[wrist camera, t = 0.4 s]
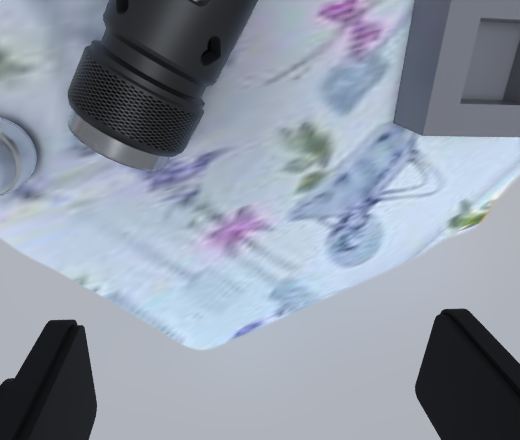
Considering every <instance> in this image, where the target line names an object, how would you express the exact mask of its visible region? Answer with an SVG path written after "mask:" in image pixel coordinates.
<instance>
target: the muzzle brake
mask: <svg viewBox="0 0 520 440" xmlns="http://www.w3.org/2000/svg"><path fill="white" fill-rule="evenodd" d="M257 1H258V0H109V3H108V5H107V7H106V10H105V12H104V15H103V20H104V23H105V25H106V28H107V29H106V31H105V34H104V36H103V38H102V41H92V43H91V45H90V46H87V47H86V48H85V49H84V52H83V54H82V57H81V59H80V62H79V64H78V67H77V69H76V72H75V74H74V77H73V79H72V82H71V84H70V87H69V89H68V99H69V104H70V106H71V108H72V109H73V110H72V113H71V115H70V118H69V120H68V126H69V129H70V131H71V132H72V133H73V134H74V136H76V137H77V138H78V139H79V140H80V141H81V142H82V143H84V144H85V145H86V146H88V147H89V148H91V149H92V150H94V151H96V152H97V153H99V154H101V155H103V156H105V157H106V158H108V159H111V160H113V161H115V162H117V163H120V164H123V165H126V166H129V167H132V168H135V169H140V170H145V171H159V170H162V169H163V168H164V167H165V166H166V164H167V162H168V160H169V158H170V157H173V156H176V155H178V154H180V153H181V152H183V151H184V149H185V148H186V146H187V144H188V142H189V140H190V138H191V136H192V134H193V132H194V131H195V129H196V127H197V125H198V123H199V121H200V119H201V117H202V115H203V113H204V111H203V109H202V108H203V106H204V102H203V100H202V99H201V96H202V94H203V92H204V90H205V88H206V86H210V85H213V84H214V83H215V82H216V81H217V79H218V77H219V75H220V73H221V70H222V68H223V66H224V64H225V62H226V61H227V59H228V57H229V55H230V53H231V51H232V49H233V48H234V46H235V44H236V42H237V40H238V39H239V37H240V35H241V33H242V31H243V29H244V27H245V25H246V23H247V21H248V19H249V18H250V16H251V14H252V11H253V9H254V7H255V5H256V3H257Z"/></svg>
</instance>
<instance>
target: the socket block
mask: <svg viewBox="0 0 520 440" xmlns="http://www.w3.org/2000/svg"><path fill="white" fill-rule="evenodd" d="M394 123H395V124H397V125H399V126H402V127H404V128H406V129H409V130H411V131H413V132H415V133H418V134H420V135H422V136H475V137H520V0H415V4H414V9H413V15H412V21H411V26H410V32H409V38H408V43H407V49H406V55H405V60H404V66H403V72H402V77H401V83H400V89H399V94H398V100H397V106H396V111H395V117H394Z"/></svg>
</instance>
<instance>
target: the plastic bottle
mask: <svg viewBox="0 0 520 440" xmlns="http://www.w3.org/2000/svg"><path fill="white" fill-rule="evenodd" d="M36 161H37V155H36V150H35V146H34V144H33V142H32V140H31V139H30V137H29V136H28V134H27V133H26V132H25V131H24V130H23V129H22V128H21V127H19V126H18V125H17V124H15V123H13V122H11V121H9V120H7V119H4V118H0V195H3V194H6V193H9V192H11V191H14V190H16V189H18V188H20V187H21V186H22V185H24V184H25V183H26V182H27V180H28V179H29V178H30V176H31V175H32V173H33V172H34V169H35V167H36Z"/></svg>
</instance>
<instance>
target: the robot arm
mask: <svg viewBox="0 0 520 440" xmlns="http://www.w3.org/2000/svg"><path fill="white" fill-rule="evenodd" d="M415 391H416V395H417V398H418V400H419V402H420V404H421V406H422V407H423V409H424V411H425V412H426V414H427V416H428V418H429V419H430V421H431V423H432V425H433V426H434V428H435V430H436V431H437V433H438V435H439V437H440V438H441V440H520V364H519V363H518V362H517V361H516V360H515V358H513V356H512V355H511V354H510V353H509V352H508V351H507V350H506V349H505V348H504V347H503V346H502V345H501V344H500V343H499V342H498V341H497V340H496V339H495V338H494V337H493V336H492V334H490V332H489V331H488V330H487V329H486V328H485V327H484V326H483V325H482V324H481V323H480V322H479V321H478V320H477V319H476V318H475V317H474V316H473V315H472V314H471V313H470V312H469V311H468V310H466V309H445V310H443V311H442V312H441V314H440V315H437V316H436V318H435V321H434V324H433V327H432V331H431V334H430V338H429V341H428V344H427V348H426V351H425V354H424V358H423V361H422V364H421V368H420V371H419V375H418V378H417V381H416V385H415ZM96 411H97V401H96V395H95V389H94V383H93V376H92V370H91V364H90V358H89V352H88V346H87V340H86V333H85V328H84V326H82V325H81V326H80V325H78V326H77V322H76V321H75V320H51V321H49V322H48V323H47V324H46V326H45V327H44V329H43V331H42V333H41V334H40V336H39V338H38V339H37V341H36V343H35V345H34V346H33V348H32V350H31V351H30V353H29V355H28V357H27V358H26V360H25V362H24V363H23V365H22V367H21V368H20V370H19V372H18V374H17V375H16V377H15V378H11V379H7V380H5V381H4V382H3V383H2V384H1V385H0V440H89V436H90V433H91V430H92V427H93V424H94V420H95V417H96Z"/></svg>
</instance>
